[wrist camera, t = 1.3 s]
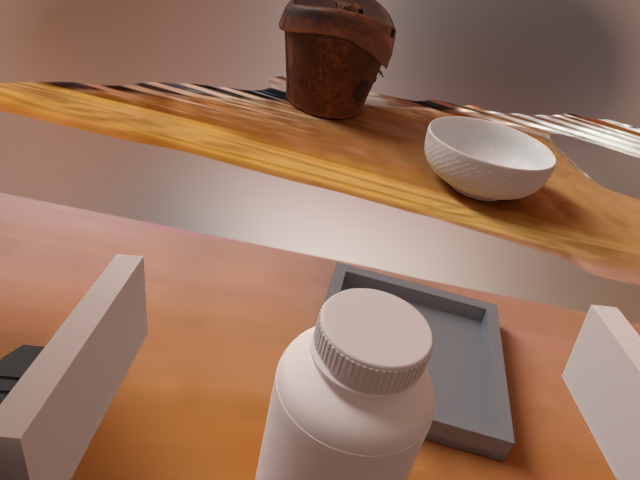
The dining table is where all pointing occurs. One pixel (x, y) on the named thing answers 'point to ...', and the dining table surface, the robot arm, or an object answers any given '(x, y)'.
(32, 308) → the dining table surface
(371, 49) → the brown plant pot
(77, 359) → the robot arm
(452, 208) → the dining table surface
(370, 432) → the pill bottle
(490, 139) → the cereal bowl
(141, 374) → the dining table surface
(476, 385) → the tray
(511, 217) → the dining table surface
